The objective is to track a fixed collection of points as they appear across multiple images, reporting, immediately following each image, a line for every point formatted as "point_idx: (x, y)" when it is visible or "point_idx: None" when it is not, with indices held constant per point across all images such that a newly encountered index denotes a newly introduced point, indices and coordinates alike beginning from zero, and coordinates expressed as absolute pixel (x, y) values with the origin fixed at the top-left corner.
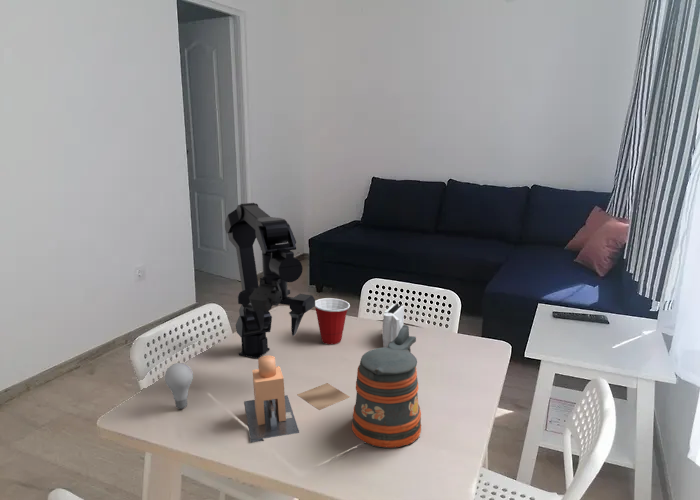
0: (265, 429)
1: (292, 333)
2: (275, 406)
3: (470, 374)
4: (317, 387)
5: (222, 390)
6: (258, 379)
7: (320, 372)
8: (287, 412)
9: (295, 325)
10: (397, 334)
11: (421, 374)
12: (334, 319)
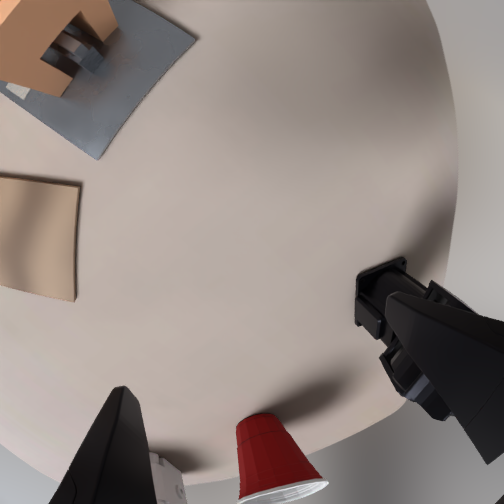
0: None
1: (115, 399)
2: (69, 76)
3: (3, 432)
4: (70, 265)
5: (319, 70)
6: None
7: (149, 336)
8: (28, 91)
9: (74, 465)
10: None
11: (24, 415)
12: (249, 475)
